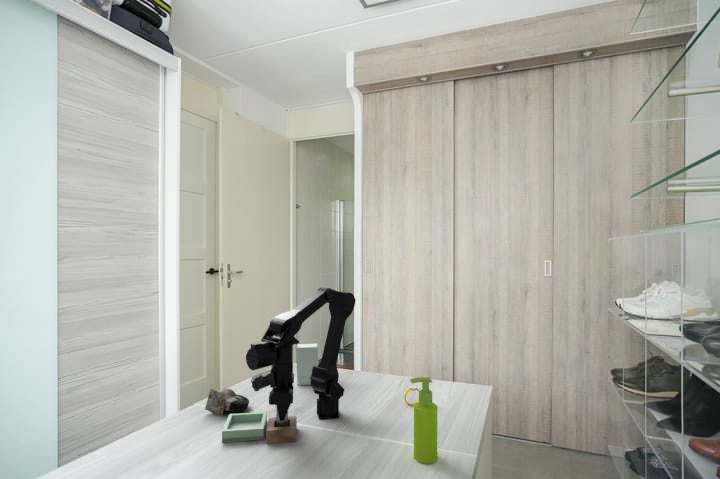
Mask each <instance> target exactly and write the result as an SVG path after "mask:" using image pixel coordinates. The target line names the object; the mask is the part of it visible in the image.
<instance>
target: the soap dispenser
mask: <svg viewBox="0 0 720 479" xmlns="http://www.w3.org/2000/svg"><path fill="white" fill-rule="evenodd" d="M409 381H410V383H411V384H415V383H422V384H421V385H422V386H421V389H419V391H418V400H419V402H417V401H416V402H414V403H415V404H414V405H413V459H414V460H415V461H416V462H417V463H420V464H423V465H433V464H435V463H436V462H437V461H438V405H437V404H436V403H434V402H433V391H431V389H430V383H431V384H432V383H433V379H432V378H430V377H423V376H422V377H414V378H410V379H409Z"/></svg>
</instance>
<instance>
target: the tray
mask: <svg viewBox="0 0 720 479" xmlns="http://www.w3.org/2000/svg"><path fill="white" fill-rule="evenodd" d="M267 424H268V411H260V412H259V411H257V412H243V413H241V412H239V413H229V414H228V417H227V419H226V420H225V423H224V426H223V428H222V430H221V443H232V442H246V441H261V440H264V438H265V435H266V429H267Z"/></svg>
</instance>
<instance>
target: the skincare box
mask: <svg viewBox="0 0 720 479" xmlns="http://www.w3.org/2000/svg"><path fill="white" fill-rule="evenodd" d="M295 350H296V380H297V381H296V382H297V386H307V385H308V386H309V385H310V386H311V379H310V377H311V374H312V368H313V366H316V367H317V366H318V364H319V343H318V342H317V343H315V342H314V343H298V344H297V345H296V349H295Z"/></svg>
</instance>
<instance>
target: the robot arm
mask: <svg viewBox="0 0 720 479" xmlns="http://www.w3.org/2000/svg"><path fill="white" fill-rule="evenodd" d="M327 303H328V310H329V311H328V312H329V313H330V314H329V315H330V322H329V325H328V329H327V334H326V338H325V341H324V342H325V343H324V347H323V352H322V354H321V360H320V362H318V366H317V367H316V366H313V368H312V374H311V377H310V379H311V385H310V386H311V388H312V389H313V392H314V394H315V395H318V397H317V398H316V416H318V420H321V419H322V420H323V419H324V420H325V419H339V418H340V411H339V410H340V409H339V407H340V405H339V404H340V399H341V398H342V397H343V396H344V393H345V388H344V387H343V386H342V385H341V384H340V383H339V374H340V373H339V370H338V366H337V362H338V357H339V353H340V349H341V344H342V340H343V335H344V331H345V326H346V321H347V319H348V318H349V317H350V316H351V315H352V314H353V312H354V308H355V305H356V297H355V295H354V294H353V293H352V292H348V291H347V292H345V291H339V290H336V289H333V288H331V287H322V286H321V287H319V288H317V289H316V292H313V294H311V295H310V296H309V297H307V298H306V299H304V301H302V302H300V303H299V304H298V305H296V307H294V308H293V309H290V310H289V311H284V312H282V313H279V314H277V315H276V316H274V317H272V319H270V321H269V325H268V326H267V330H266V331H265V332H264V334H263V336H262V338H261V342H260V341H259V342H253V343H250V348H249V349H248V350H247V353H246V355H245V362H246V365H247V367H248V369H250V371H256V370H260V369H263V368H268V367H271V368H270V369H267V370H265V371H261V372H259V373H256V374H254V375H253V376H252V377H251V380H250V383H251V388H252V389H253V390H254V392H258V391H260V390H261V389H264V388H266V387H268V386H269V387H270V388H272V389H271V391H269V396H268V405H270V406H275V407H276V408H277V410H278V414H279V419H280V421H283V420H284V419H285V416H286V414H287V411H288V412H289V408H290V407H291V405H292V404H293V403H294V385H293V384H294V383H295V374H294V345H298V344H300V341H299V340H298V339H297V338H296V337H295V336H296V335H297V334H298V332H299V331H300V330H301V329H302V326H303V323H304V322H305V321H306V320H308V319H309V318H310V317H311V316H312V315H314V314H315V313H316V312H317V311H319V310H320V309H321V308H322V307H323V306H325V305H326V304H327Z"/></svg>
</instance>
